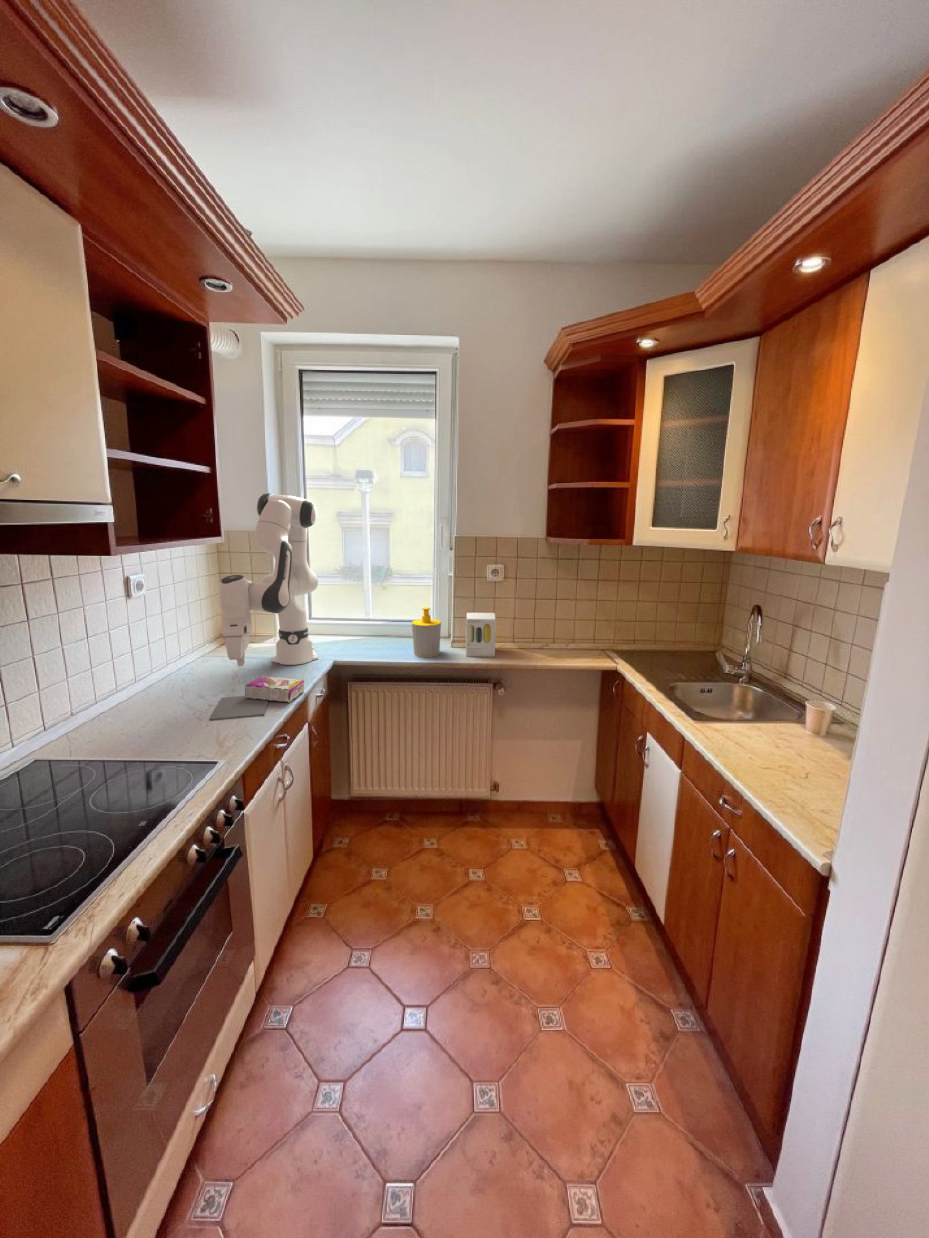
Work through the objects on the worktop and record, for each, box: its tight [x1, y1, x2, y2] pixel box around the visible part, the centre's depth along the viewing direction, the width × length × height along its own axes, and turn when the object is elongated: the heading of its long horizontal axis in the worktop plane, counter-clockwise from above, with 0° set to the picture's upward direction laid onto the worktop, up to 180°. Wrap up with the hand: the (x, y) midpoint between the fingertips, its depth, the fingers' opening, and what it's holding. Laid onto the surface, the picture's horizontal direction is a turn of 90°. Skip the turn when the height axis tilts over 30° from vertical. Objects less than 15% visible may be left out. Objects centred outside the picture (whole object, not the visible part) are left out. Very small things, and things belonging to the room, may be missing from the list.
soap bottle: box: [411, 606, 442, 658], centre depth 226 cm, size 13×13×21 cm
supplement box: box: [465, 612, 496, 658], centre depth 228 cm, size 13×13×18 cm
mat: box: [209, 695, 270, 721], centre depth 167 cm, size 18×16×1 cm
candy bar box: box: [244, 675, 305, 703], centre depth 176 cm, size 11×5×16 cm
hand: (241, 664), depth 168 cm, fingers closed
